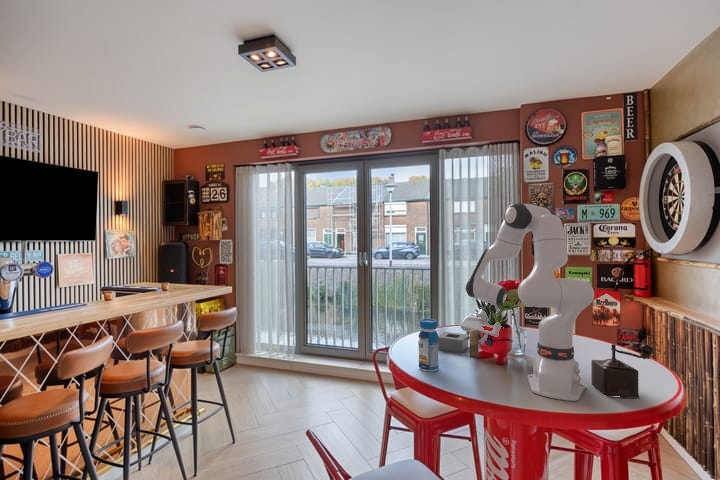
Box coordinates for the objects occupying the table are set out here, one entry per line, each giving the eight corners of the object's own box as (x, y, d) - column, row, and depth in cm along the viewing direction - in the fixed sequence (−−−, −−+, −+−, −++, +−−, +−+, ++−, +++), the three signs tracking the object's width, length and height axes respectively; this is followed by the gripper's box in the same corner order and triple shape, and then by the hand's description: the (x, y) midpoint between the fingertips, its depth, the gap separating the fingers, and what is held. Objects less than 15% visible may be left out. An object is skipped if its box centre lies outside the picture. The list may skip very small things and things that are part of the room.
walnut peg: (477, 358, 159) (477, 331, 159) (468, 357, 161) (468, 330, 161) (479, 355, 163) (479, 329, 163) (470, 354, 165) (470, 328, 165)
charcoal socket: (462, 353, 167) (462, 340, 167) (437, 349, 173) (437, 337, 173) (468, 346, 177) (468, 334, 177) (444, 343, 183) (444, 331, 183)
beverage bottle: (439, 372, 142) (439, 323, 142) (418, 371, 143) (417, 322, 144) (438, 365, 150) (438, 318, 150) (418, 364, 152) (418, 317, 152)
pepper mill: (606, 397, 119) (606, 344, 119) (590, 384, 130) (590, 335, 130) (658, 400, 116) (657, 346, 117) (637, 387, 127) (636, 337, 127)
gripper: (465, 309, 174) (452, 332, 169) (502, 316, 157) (489, 342, 152) (471, 317, 177) (458, 339, 171) (508, 325, 160) (495, 350, 154)
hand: (473, 340), depth 161 cm, fingers open, 6 cm apart
